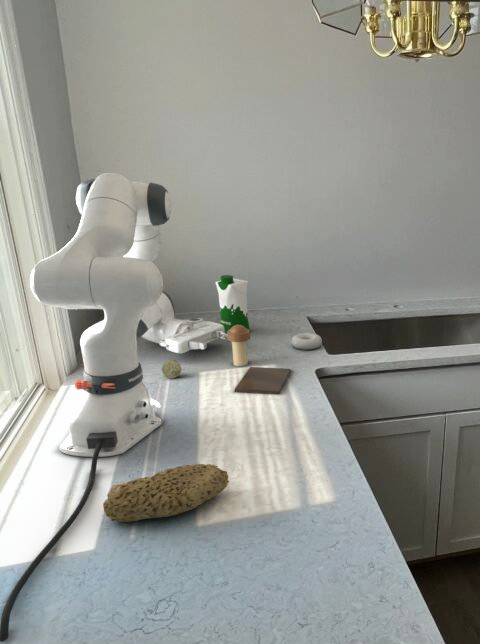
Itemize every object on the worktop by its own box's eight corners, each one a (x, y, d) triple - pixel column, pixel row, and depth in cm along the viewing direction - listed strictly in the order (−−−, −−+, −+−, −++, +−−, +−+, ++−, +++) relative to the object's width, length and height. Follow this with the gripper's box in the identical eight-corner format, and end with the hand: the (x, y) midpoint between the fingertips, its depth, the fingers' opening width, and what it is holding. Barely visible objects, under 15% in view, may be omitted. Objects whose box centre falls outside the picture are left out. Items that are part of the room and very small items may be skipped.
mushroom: (248, 368, 164) (245, 329, 160) (226, 367, 165) (223, 328, 160) (253, 360, 170) (251, 322, 166) (233, 359, 170) (230, 321, 166)
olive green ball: (183, 377, 157) (182, 360, 155) (166, 381, 154) (164, 364, 152) (178, 372, 160) (176, 356, 158) (161, 376, 157) (159, 359, 155)
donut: (287, 349, 180) (316, 352, 178) (286, 339, 179) (316, 342, 177) (297, 340, 189) (326, 342, 187) (297, 330, 188) (325, 332, 186)
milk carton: (216, 332, 193) (212, 275, 186) (236, 326, 200) (232, 271, 193) (234, 337, 189) (230, 279, 181) (254, 331, 196) (250, 274, 188)
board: (279, 394, 148) (279, 391, 148) (234, 391, 149) (234, 389, 148) (290, 371, 163) (290, 368, 163) (250, 369, 164) (250, 366, 163)
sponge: (108, 540, 95) (224, 512, 96) (94, 499, 93) (212, 470, 95) (132, 506, 108) (234, 481, 109) (120, 469, 106) (224, 444, 107)
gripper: (154, 333, 164) (190, 341, 159) (203, 316, 181) (237, 323, 176) (157, 353, 166) (192, 362, 161) (204, 334, 184) (238, 342, 178)
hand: (216, 341), depth 169 cm, fingers open, 8 cm apart
